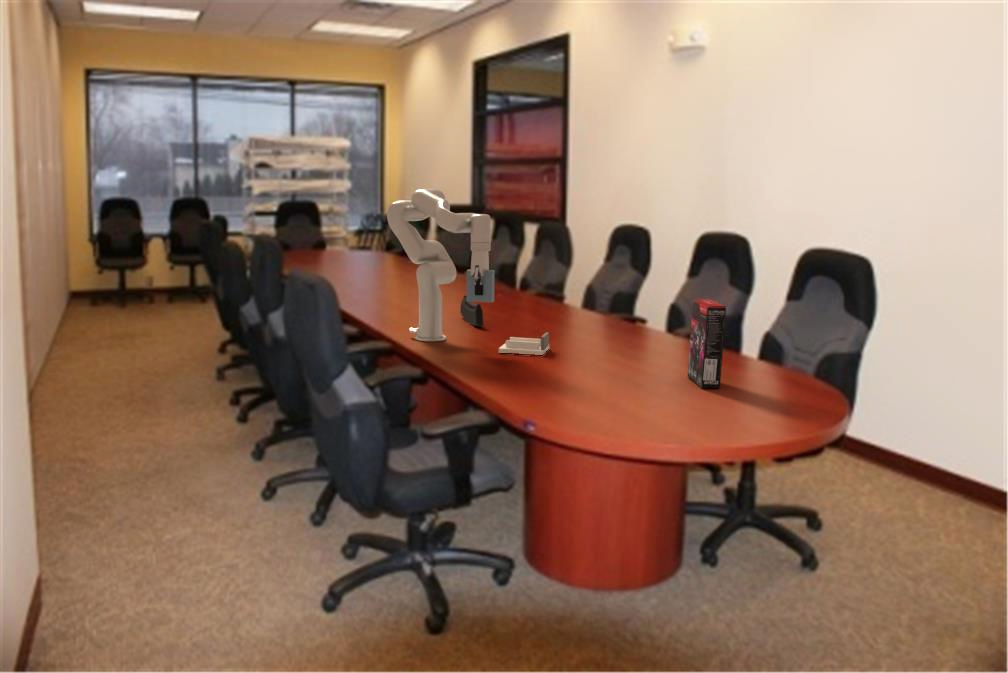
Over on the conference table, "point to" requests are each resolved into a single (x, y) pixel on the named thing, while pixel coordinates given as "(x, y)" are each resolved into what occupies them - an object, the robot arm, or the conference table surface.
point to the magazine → (471, 312)
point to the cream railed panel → (526, 345)
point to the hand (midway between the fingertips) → (480, 293)
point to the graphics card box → (706, 343)
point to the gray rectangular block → (487, 287)
